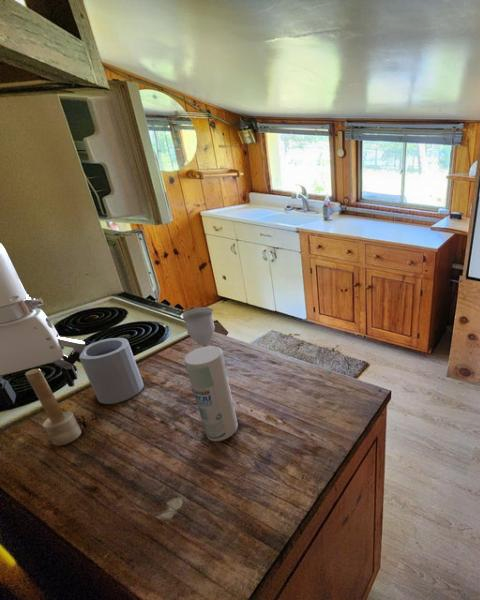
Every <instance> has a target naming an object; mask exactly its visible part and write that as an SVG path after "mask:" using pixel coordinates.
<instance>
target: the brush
mask: <svg viewBox="0 0 480 600" xmlns="http://www.w3.org/2000/svg"><path fill="white" fill-rule="evenodd" d="M24 375H25V377H26V378H27V381H28V382H29V384H30V386H31V388H32V390H33V391H34V393H35V395H36V398H38V401H39V403H40V404H41V406H42V408H43V410H44V412H45V413H46V416H47V417H48V418H47V419H46V420H45V421H44V422H43V424H42V426H43V427H42V428H43V429H44V430H45V432H46V434H47V436H48V437H49V439H50V441H51V442H52V444H53V445H54V446H64V445H67V444H70V443H72V442H73V441H76V440H77V439H78V438H79V437H80V436H81V434H82V429H81V427H80V425H79V423H78V420H77V419H76V417H75V415H74V413H73V412H71V411H63V410H62V408H61V407H60V405H59V403H58V400H57V399H56V397H55V395H54V393H53V391H52V389H51V387H50V385H49V383H48V381H47V379H46V378H45V376H44V373H43V371H42V370H41V369H40V368H32V369H30V370H28V371H26V372H25V373H24Z"/></svg>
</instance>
